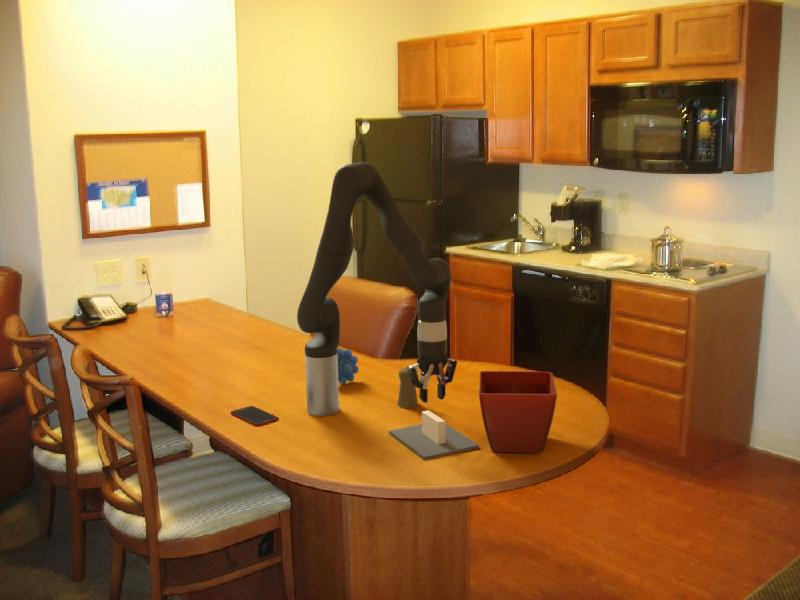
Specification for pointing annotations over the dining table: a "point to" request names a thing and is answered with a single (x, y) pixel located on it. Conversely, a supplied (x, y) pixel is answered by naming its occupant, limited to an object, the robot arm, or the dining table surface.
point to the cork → (406, 390)
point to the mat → (432, 442)
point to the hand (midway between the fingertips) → (432, 399)
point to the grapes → (346, 365)
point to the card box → (433, 427)
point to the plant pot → (517, 409)
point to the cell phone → (254, 416)
